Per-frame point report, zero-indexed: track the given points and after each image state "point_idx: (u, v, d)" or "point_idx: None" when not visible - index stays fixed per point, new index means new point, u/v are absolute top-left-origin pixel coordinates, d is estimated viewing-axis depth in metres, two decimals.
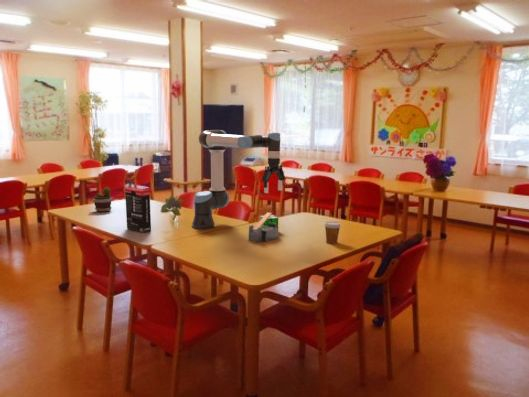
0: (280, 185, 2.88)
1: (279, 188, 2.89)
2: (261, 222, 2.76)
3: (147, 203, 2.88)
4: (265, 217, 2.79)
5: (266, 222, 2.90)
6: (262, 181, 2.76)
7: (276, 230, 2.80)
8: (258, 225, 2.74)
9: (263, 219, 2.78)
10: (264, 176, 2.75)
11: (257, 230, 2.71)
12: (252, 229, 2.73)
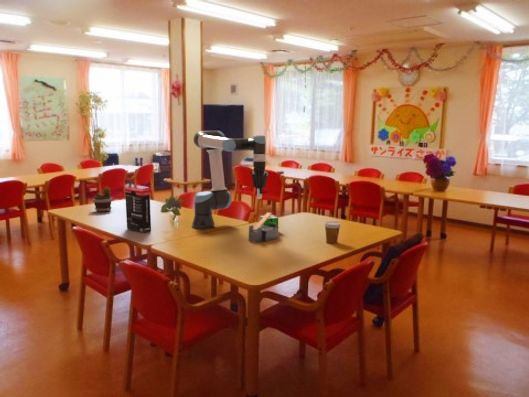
0: None
1: None
2: (261, 222, 2.76)
3: (147, 203, 2.88)
4: (265, 217, 2.79)
5: (266, 222, 2.90)
6: (255, 186, 2.82)
7: (276, 230, 2.80)
8: (258, 225, 2.74)
9: (263, 219, 2.78)
10: None
11: (257, 230, 2.71)
12: (252, 229, 2.73)
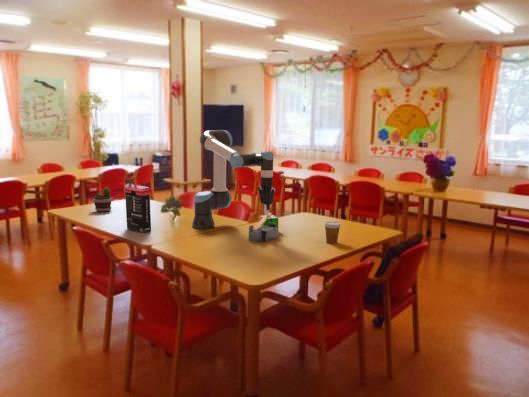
0: None
1: None
2: (261, 222, 2.76)
3: (147, 203, 2.88)
4: (265, 217, 2.79)
5: (266, 222, 2.90)
6: None
7: (276, 230, 2.80)
8: (258, 225, 2.74)
9: (263, 219, 2.78)
10: None
11: (257, 230, 2.71)
12: (252, 229, 2.73)
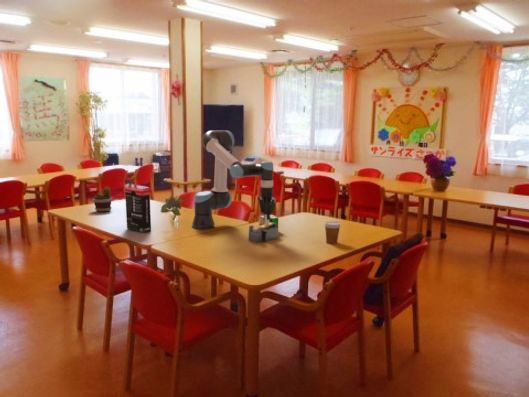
0: None
1: None
2: (262, 226, 2.77)
3: (147, 203, 2.88)
4: None
5: None
6: None
7: (276, 230, 2.80)
8: None
9: (264, 225, 2.80)
10: None
11: (257, 229, 2.71)
12: (252, 228, 2.73)
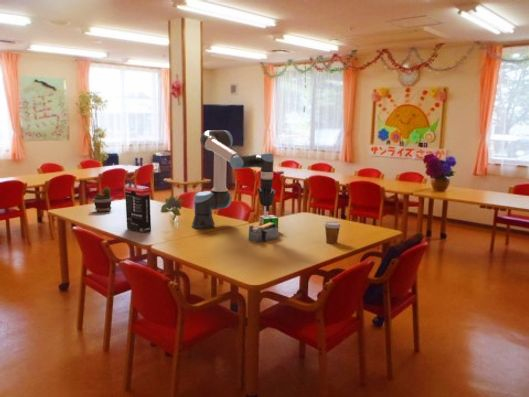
0: None
1: None
2: (262, 226, 2.77)
3: (147, 203, 2.88)
4: (267, 224, 2.81)
5: (266, 222, 2.90)
6: None
7: (276, 230, 2.80)
8: None
9: (264, 225, 2.80)
10: None
11: (257, 229, 2.71)
12: (252, 228, 2.73)
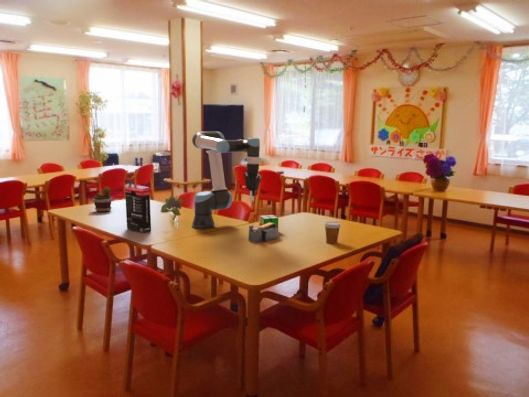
0: None
1: None
2: (262, 226, 2.77)
3: (147, 203, 2.88)
4: (267, 224, 2.81)
5: (266, 222, 2.90)
6: None
7: (276, 230, 2.80)
8: None
9: (264, 225, 2.80)
10: None
11: (257, 229, 2.71)
12: (252, 228, 2.73)
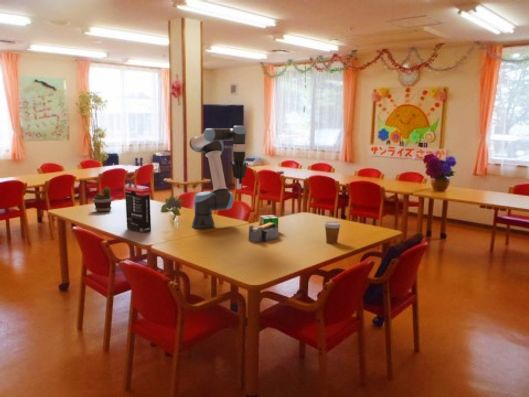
0: None
1: None
2: (262, 226, 2.77)
3: (147, 203, 2.88)
4: (267, 224, 2.81)
5: (266, 222, 2.90)
6: None
7: (276, 230, 2.80)
8: None
9: (264, 225, 2.80)
10: None
11: (257, 229, 2.71)
12: (252, 228, 2.73)
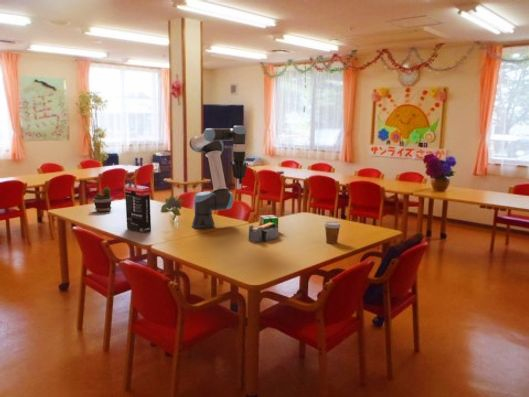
0: None
1: None
2: (262, 226, 2.77)
3: (147, 203, 2.88)
4: (267, 224, 2.81)
5: (266, 222, 2.90)
6: None
7: (276, 230, 2.80)
8: None
9: (264, 225, 2.80)
10: None
11: (257, 229, 2.71)
12: (252, 228, 2.73)
